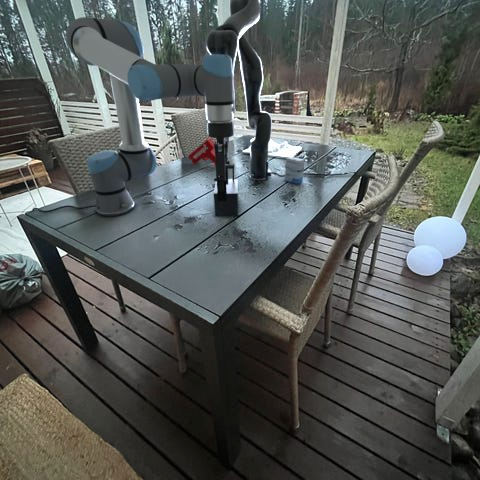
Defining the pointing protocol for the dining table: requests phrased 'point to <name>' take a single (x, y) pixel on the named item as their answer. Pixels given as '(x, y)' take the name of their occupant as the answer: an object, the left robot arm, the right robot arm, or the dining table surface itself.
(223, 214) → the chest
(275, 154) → the relief map
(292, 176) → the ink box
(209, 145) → the toy gun
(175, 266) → the dining table surface
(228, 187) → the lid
